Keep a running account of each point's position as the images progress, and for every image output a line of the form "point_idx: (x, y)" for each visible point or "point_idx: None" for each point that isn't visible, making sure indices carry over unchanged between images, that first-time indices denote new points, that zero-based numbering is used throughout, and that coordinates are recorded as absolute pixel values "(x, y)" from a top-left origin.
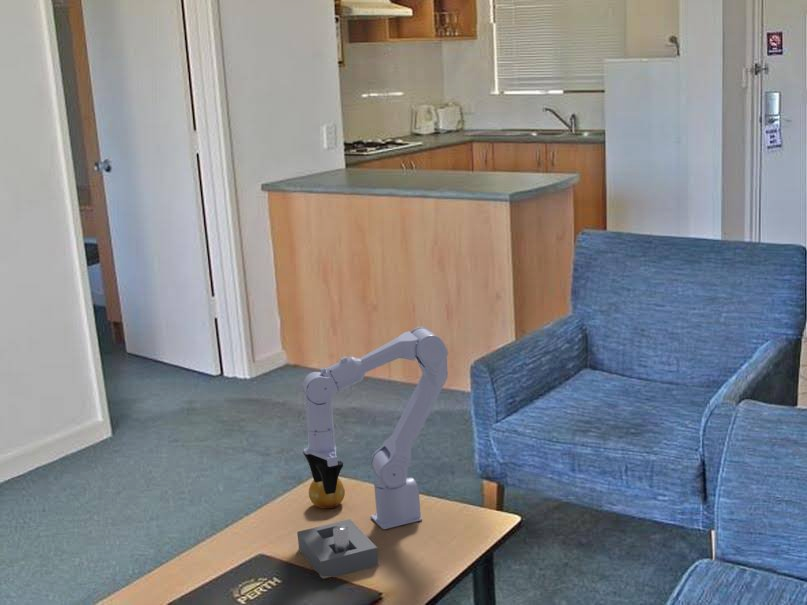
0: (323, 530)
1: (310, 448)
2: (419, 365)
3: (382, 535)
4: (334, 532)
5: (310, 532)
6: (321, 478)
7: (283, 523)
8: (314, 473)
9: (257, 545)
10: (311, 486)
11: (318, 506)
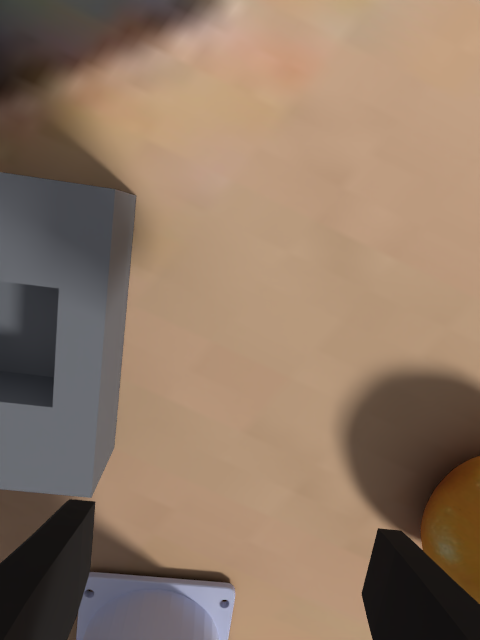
0: (60, 329)
1: None
2: None
3: None
4: None
5: (55, 250)
6: (374, 598)
7: (454, 261)
8: (419, 599)
9: (316, 35)
10: None
11: (470, 459)
